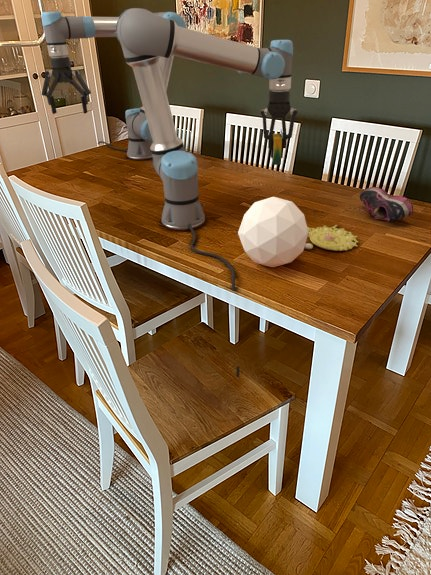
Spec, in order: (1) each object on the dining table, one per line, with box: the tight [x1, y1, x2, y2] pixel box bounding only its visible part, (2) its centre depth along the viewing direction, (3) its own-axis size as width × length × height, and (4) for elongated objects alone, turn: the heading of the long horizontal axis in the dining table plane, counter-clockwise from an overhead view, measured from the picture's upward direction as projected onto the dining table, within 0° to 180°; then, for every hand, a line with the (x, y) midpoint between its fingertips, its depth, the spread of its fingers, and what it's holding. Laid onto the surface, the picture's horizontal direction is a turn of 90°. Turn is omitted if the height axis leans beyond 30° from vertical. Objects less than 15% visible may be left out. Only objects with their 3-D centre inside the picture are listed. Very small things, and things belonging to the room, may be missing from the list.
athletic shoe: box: [359, 186, 414, 223], centre depth 153 cm, size 11×22×12 cm
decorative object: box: [304, 224, 359, 252], centre depth 141 cm, size 21×2×20 cm
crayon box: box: [271, 129, 283, 166], centre depth 166 cm, size 7×3×12 cm, turn 177°
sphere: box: [237, 196, 309, 268], centre depth 125 cm, size 19×20×20 cm
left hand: (70, 113), depth 188 cm, fingers open, 13 cm apart
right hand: (276, 156), depth 168 cm, fingers closed on crayon box, 3 cm apart
